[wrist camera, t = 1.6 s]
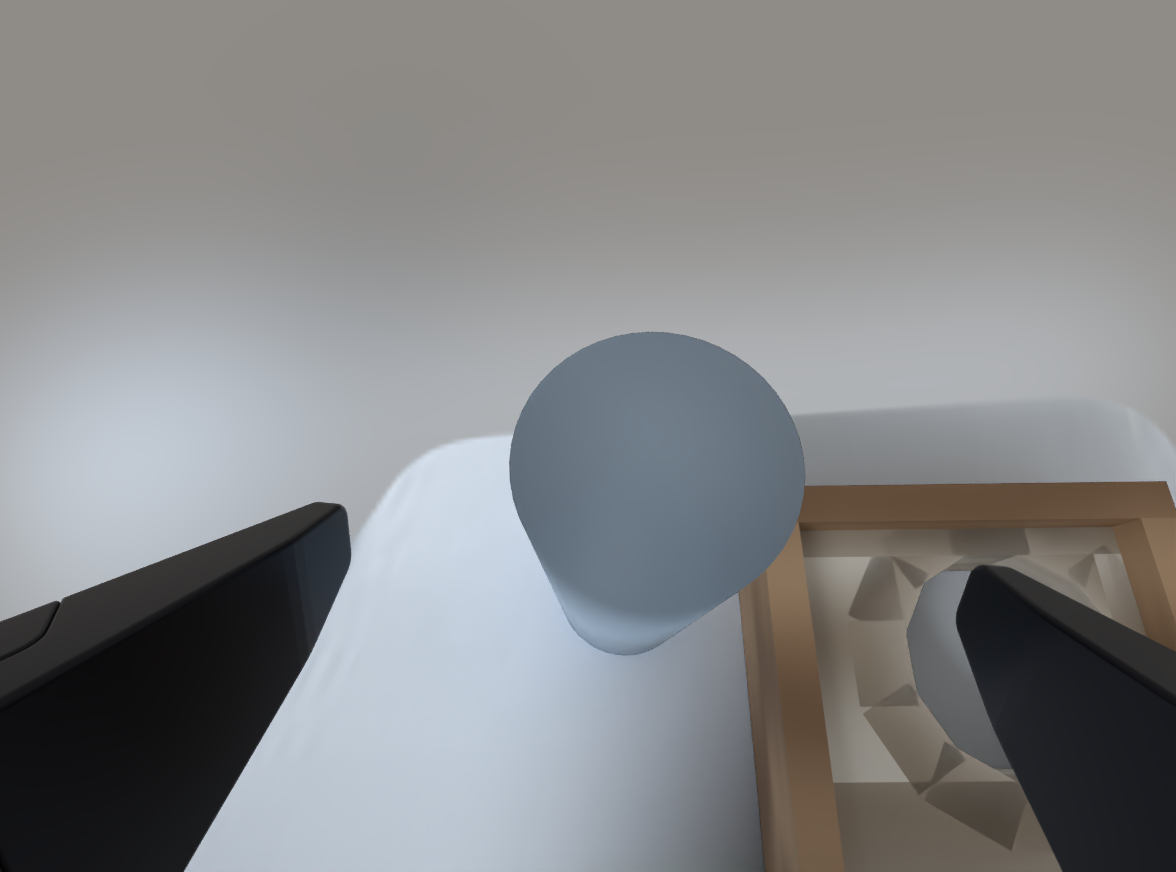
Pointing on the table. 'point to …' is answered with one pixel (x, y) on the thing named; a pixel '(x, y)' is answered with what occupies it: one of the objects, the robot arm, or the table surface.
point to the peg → (653, 484)
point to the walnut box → (884, 671)
